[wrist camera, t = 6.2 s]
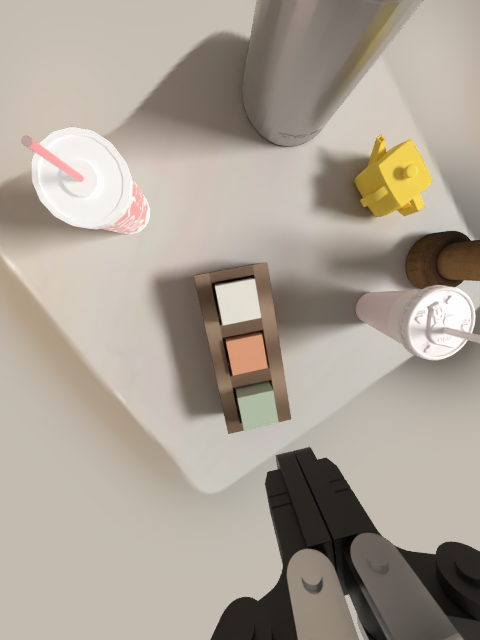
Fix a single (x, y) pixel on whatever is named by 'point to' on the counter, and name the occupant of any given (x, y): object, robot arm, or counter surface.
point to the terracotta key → (246, 352)
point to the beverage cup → (86, 182)
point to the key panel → (220, 331)
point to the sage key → (257, 405)
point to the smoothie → (422, 319)
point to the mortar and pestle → (443, 260)
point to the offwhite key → (238, 301)
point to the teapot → (393, 179)
